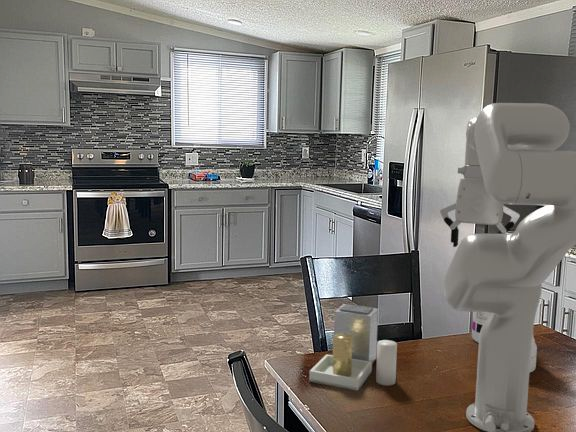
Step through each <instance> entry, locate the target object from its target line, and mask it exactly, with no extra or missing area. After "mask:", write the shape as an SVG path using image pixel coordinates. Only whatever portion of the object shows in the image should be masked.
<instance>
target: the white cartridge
mask: <svg viewBox="0 0 576 432" xmlns="http://www.w3.org/2000/svg"><path fill="white" fill-rule="evenodd" d="M397 349H398V343H397V342H396V341H394V340H389V339H382V340H377V349H376V370H375V382H376V383H378V385H381V386H394V385H395V384H396V379H397V378H396V377H397V352H398V351H397Z"/></svg>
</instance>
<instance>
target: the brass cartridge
mask: <svg viewBox="0 0 576 432" xmlns="http://www.w3.org/2000/svg"><path fill="white" fill-rule="evenodd" d="M332 355H333V374H336V375H341V376H347V377H350V376H351V375H352V336H351V335H349V334H335V335H334V334H333V336H332Z"/></svg>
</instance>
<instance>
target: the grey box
mask: <svg viewBox="0 0 576 432" xmlns="http://www.w3.org/2000/svg"><path fill="white" fill-rule="evenodd" d="M378 317H379V308H378V307H377V308H376V307H371V306H365V305H364V306H363V305H357V304H350V303H349V304H348V303H343V304H342V305H340V306H339V307H337V309H335V310H334V320H333V321H334V322H333V323H334V324H333V328H334V329H333V335H335V334H349V335H351V336H352V359H357V360H363V361H369V362H372V364H373V363H375V361H377V342H378V319H379V318H378Z"/></svg>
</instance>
